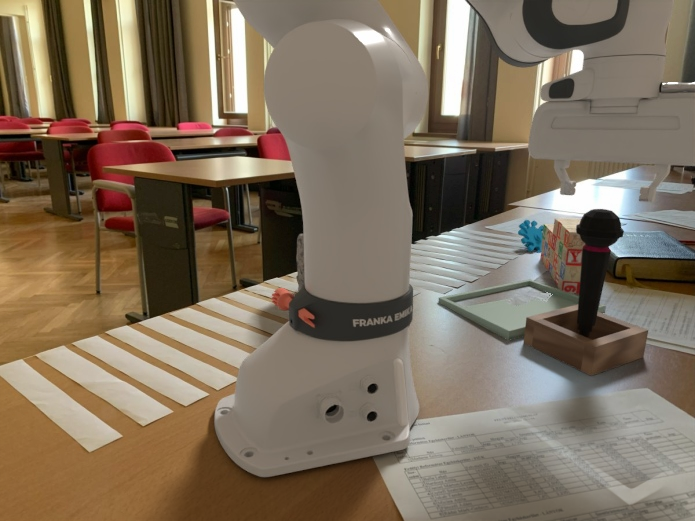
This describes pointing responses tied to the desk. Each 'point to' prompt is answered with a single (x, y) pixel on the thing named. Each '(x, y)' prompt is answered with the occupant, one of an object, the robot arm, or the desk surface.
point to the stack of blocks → (563, 253)
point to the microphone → (594, 262)
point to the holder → (585, 340)
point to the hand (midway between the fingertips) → (605, 198)
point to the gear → (531, 235)
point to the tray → (510, 308)
